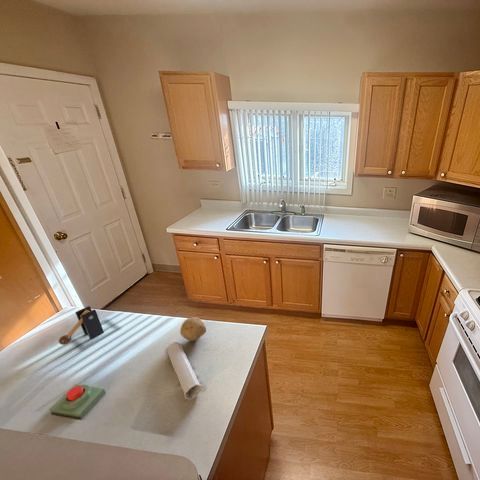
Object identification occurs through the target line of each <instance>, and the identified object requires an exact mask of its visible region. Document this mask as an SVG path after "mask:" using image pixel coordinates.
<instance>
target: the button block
mask: <svg viewBox="0 0 480 480" xmlns="http://www.w3.org/2000/svg"><path fill="white" fill-rule="evenodd" d="M76 386H81V387H82V388H83V390H84V393H83V395H82V396H81V397H80V398H78V399H76V400H74V401H69V400H68V398H67V396H66V394H67V392H65V393H64V394H63V395H62V396H61V397H60V398H59V399H57V400H56V401H55V402H54V403H53V404H52V406H50V407H49V409H48V410H49V411H50V413H51V414H53V415H57V416H58V415H59V416H63V417H69V418H75V419H81V420H82V419H83V418H84V417H85V416H86V415H87V414H88V413H89V412H90V411H91V410H92V409H93V408H94V407H95V406H96V404H98V402H99V401H101V400H102V398H103V397H104V396H105V395H106V394H107V392H106V390H105V388H102V387H95V386H90V385H89V384H84V383H83V384H79V383H76V384H75V385H73V386H72V387H71V388H70V389H72V388H74V387H76Z"/></svg>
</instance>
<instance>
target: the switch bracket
mask: <svg viewBox="0 0 480 480" xmlns="http://www.w3.org/2000/svg"><path fill="white" fill-rule="evenodd" d="M85 310H88V311H90V312H88V313H86V314H83V315H81V314H82V313H83V312H84V311H85ZM75 315H76V318H77V320H78V321H79V320H80V319H81V318H82V321H83V323H82V324H81V325H80V327H81V330H82V332H83V334H84V336H85V337H87V336H88V338H89V340H94V339H95V338H97V337H99V336H100V335H103V334H104V333H105V332H104V329H103V326H102V323H101V321H100V318H99V315H98V312H97V310H96V309H92V307H91V306H90V305H88V306H86V307H84V308H81V309H79V310H76V311H75ZM80 315H81V317H80Z"/></svg>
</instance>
